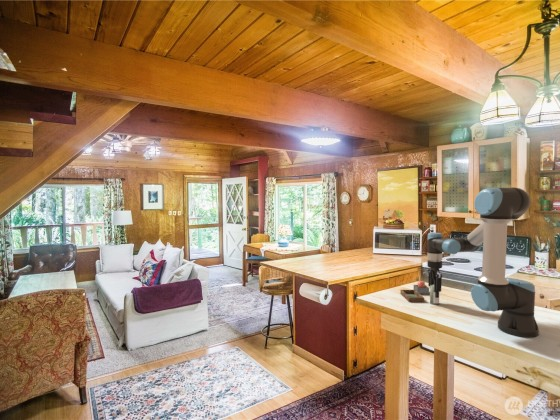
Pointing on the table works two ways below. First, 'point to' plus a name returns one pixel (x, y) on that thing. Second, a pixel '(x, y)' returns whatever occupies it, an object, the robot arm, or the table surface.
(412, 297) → the wooden tray
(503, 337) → the table surface
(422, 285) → the coral capsule
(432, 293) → the cell
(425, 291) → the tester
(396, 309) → the table surface
